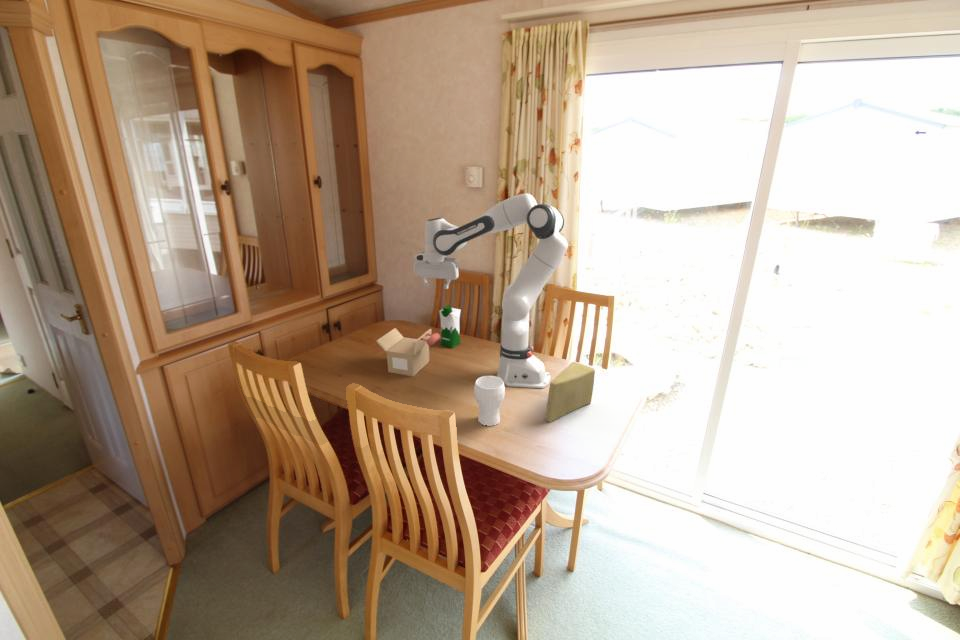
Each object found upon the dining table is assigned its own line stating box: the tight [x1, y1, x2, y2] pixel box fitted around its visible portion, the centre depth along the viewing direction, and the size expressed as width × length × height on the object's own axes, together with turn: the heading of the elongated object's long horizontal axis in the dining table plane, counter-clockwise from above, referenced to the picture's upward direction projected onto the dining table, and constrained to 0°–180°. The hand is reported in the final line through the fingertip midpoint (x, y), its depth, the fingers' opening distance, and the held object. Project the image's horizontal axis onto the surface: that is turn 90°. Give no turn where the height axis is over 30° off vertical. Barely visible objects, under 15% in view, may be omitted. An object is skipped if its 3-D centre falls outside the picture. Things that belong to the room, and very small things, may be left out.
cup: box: [473, 375, 506, 427], centre depth 150 cm, size 11×11×15 cm
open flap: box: [375, 327, 405, 353], centre depth 190 cm, size 6×16×1 cm
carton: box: [386, 336, 430, 377], centre depth 190 cm, size 12×16×10 cm
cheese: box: [546, 361, 596, 423], centre depth 156 cm, size 22×10×15 cm, turn 137°
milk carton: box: [438, 305, 462, 349], centre depth 212 cm, size 9×9×20 cm
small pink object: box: [413, 328, 441, 355], centre depth 184 cm, size 7×16×7 cm
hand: (436, 287), depth 190 cm, fingers open, 8 cm apart
